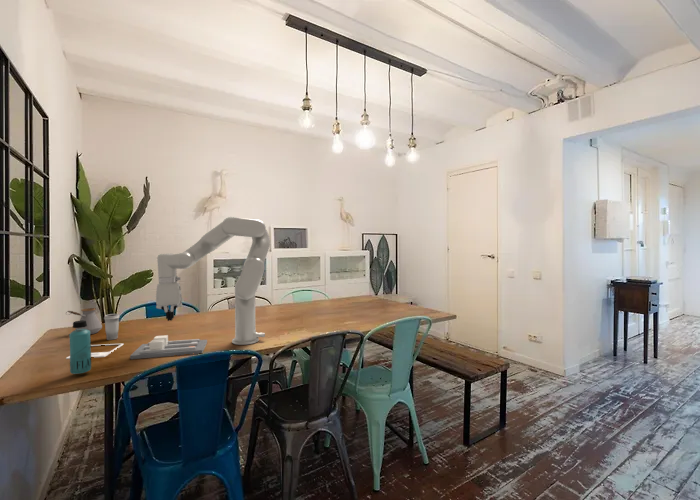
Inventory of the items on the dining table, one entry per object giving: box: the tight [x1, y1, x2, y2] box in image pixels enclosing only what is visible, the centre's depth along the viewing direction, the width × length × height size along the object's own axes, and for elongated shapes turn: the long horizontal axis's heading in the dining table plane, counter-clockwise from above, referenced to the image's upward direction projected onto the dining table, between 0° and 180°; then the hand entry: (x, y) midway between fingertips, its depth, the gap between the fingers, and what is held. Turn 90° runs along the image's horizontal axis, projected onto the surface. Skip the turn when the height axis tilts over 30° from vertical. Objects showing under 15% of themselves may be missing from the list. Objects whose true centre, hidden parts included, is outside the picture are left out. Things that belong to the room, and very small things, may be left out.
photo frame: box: [65, 343, 124, 360], centre depth 156 cm, size 15×1×18 cm
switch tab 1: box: [153, 334, 169, 345], centre depth 160 cm, size 5×4×4 cm
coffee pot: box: [65, 307, 103, 335], centre depth 182 cm, size 21×12×15 cm, turn 5°
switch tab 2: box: [148, 339, 165, 350], centre depth 153 cm, size 5×4×4 cm
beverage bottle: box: [68, 320, 92, 375], centre depth 129 cm, size 6×7×20 cm
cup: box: [103, 313, 120, 341], centre depth 176 cm, size 7×7×12 cm
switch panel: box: [129, 338, 208, 360], centre depth 158 cm, size 28×17×2 cm, turn 106°
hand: (170, 320), depth 161 cm, fingers closed
